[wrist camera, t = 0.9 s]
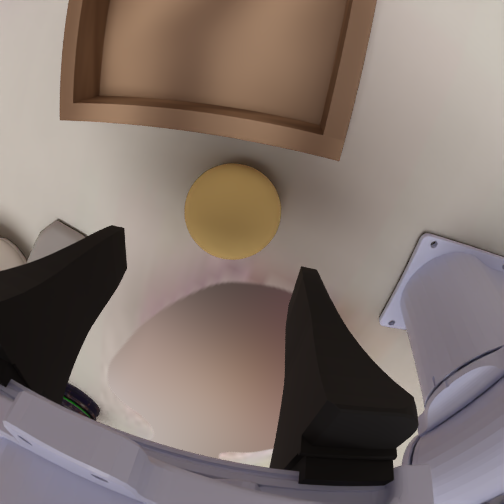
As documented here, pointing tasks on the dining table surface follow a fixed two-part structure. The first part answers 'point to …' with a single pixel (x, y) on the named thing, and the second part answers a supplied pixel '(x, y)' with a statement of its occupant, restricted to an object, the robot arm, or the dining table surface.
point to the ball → (232, 211)
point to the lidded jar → (10, 255)
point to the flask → (53, 240)
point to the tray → (219, 67)
